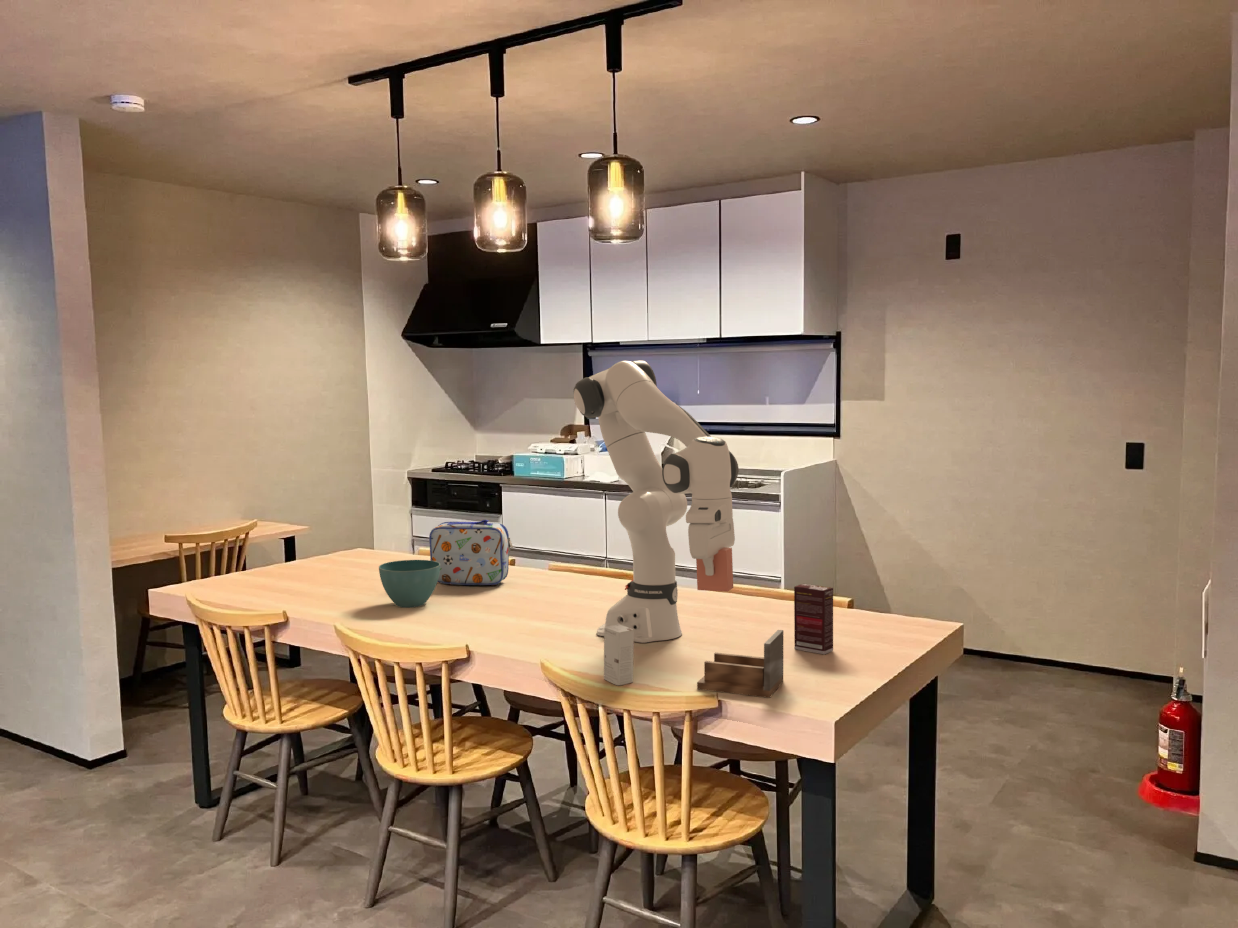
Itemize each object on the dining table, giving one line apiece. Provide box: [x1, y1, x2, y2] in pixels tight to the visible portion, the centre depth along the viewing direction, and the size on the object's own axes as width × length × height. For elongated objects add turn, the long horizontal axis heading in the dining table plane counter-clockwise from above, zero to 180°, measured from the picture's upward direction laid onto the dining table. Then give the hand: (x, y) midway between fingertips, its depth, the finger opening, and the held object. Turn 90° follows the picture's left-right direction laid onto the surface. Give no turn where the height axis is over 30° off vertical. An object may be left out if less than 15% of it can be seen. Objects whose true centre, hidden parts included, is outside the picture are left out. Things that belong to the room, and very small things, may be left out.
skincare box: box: [603, 624, 635, 686], centre depth 212 cm, size 6×4×12 cm
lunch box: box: [428, 519, 514, 586], centre depth 318 cm, size 28×10×22 cm, turn 82°
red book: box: [695, 547, 734, 592], centre depth 210 cm, size 7×4×9 cm, turn 65°
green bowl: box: [378, 559, 440, 609], centre depth 289 cm, size 18×18×12 cm
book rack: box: [696, 629, 784, 699], centre depth 208 cm, size 16×12×12 cm
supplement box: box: [793, 583, 834, 655], centre depth 234 cm, size 9×5×16 cm, turn 50°
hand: (714, 572), depth 210 cm, fingers closed on red book, 4 cm apart
